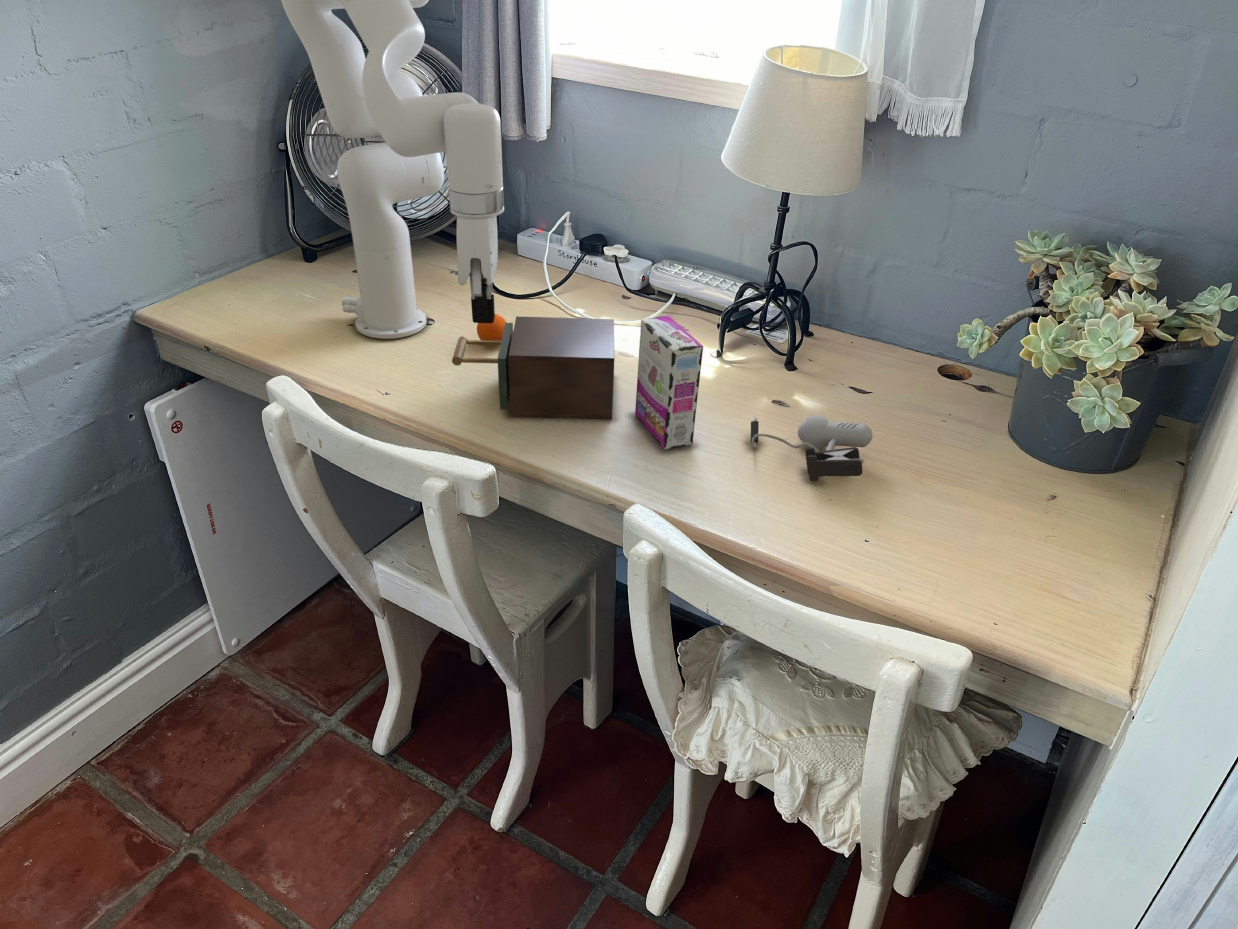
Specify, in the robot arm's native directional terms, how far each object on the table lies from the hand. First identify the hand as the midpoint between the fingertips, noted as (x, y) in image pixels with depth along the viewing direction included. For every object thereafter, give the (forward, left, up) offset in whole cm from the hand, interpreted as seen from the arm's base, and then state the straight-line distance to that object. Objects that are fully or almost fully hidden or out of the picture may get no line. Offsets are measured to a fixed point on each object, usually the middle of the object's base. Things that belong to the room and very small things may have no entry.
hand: (483, 320), depth 132 cm
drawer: (+6, +1, -12) cm, 13 cm away
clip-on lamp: (+50, -7, -13) cm, 52 cm away
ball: (-4, +18, -10) cm, 21 cm away
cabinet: (+12, +2, -13) cm, 18 cm away
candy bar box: (+29, -4, -13) cm, 32 cm away
